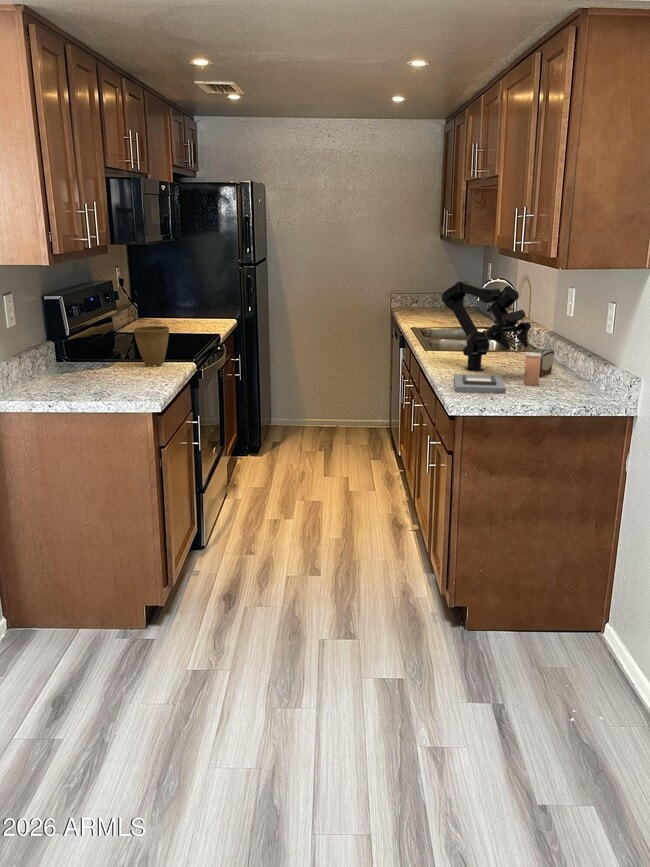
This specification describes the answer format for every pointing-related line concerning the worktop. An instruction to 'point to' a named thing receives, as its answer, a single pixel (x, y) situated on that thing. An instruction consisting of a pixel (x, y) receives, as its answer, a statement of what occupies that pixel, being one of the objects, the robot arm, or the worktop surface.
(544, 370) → the food container
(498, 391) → the dock
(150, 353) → the plant pot
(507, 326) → the robot arm
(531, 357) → the terracotta canister
